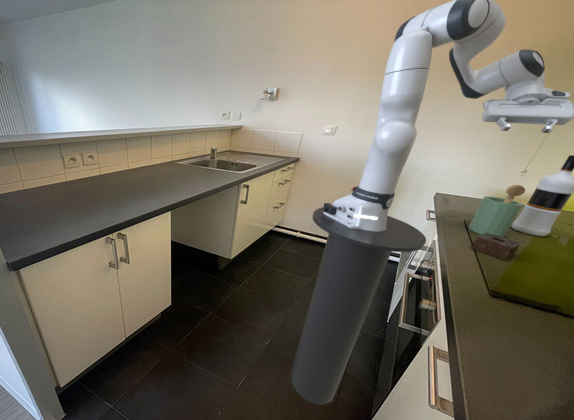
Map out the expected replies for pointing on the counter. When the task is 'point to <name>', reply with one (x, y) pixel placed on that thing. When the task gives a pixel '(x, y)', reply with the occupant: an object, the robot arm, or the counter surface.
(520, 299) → the counter surface
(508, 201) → the spoon
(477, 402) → the counter surface
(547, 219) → the vodka
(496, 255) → the spoon stand
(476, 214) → the cup
